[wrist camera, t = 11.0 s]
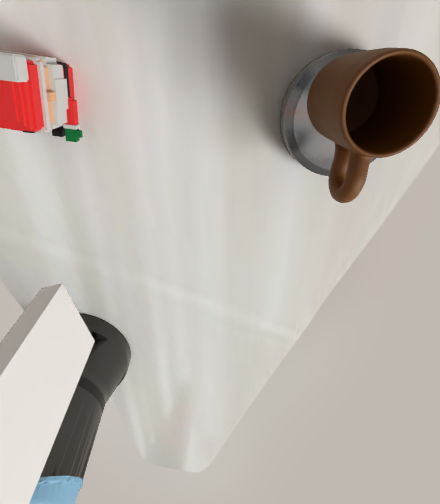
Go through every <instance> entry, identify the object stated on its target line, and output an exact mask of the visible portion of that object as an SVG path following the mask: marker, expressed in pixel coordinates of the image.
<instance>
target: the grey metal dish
mask: <svg viewBox="0 0 440 504" xmlns="http://www.w3.org/2000/svg"><path fill="white" fill-rule="evenodd" d="M361 51H367V50H360V49H348V50H343V51H337V52H332V53H329V54H326V55H323V56H321V57H319V58H317V59H315V60H314V61H312V62H311V63H309V64H308V65H307V66H306V67H305V68H303V69H302V70H301V72H300V73H299V74H298V75H297V76H296V77H295V79H294V80H293V81H292V83H291V85H290V86H289V88H288V90H287V92H286V95H285V97H284V100H283V103H282V107H281V113H280V128H281V134H282V138H283V141H284V143H285V145H286V147H287V149H288V151H289V152H290V153H291V155H292V156H293V157H294V158H295V159H296V160H297V161H298V162H299V163H300V164H301V165H303V166H304V167H305V168H307V169H308V170H310V171H312V172H314V173H317V174H320V175H325V176H329V174H330V169H331V165H332V162H333V159H334V154H335V143H334V142H333V141H331V140H330V139H328V138H326V137H324V136H323V135H321V134H320V133H319V132H318V131H317V130H316V129H315V128H314V127H313V125H312V123H311V121H310V119H309V116H308V112H307V97H308V92H309V89H310V86H311V84H312V82H313V80H314V78H315V77H316V75H317V74H318V73H319V71H320V70H321V69H322V68H323V67H324V66H325V65H326V64H328V63H329V62H330V61H332V60H333V59H335V58H337V57H339V56H342V55H345V54H350V53H356V52H361ZM375 159H376V158H372V157H371V159H370V163H371V162H372V161H374V160H375ZM370 163H369V164H370Z"/></svg>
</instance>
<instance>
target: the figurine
mask: <svg viewBox="0 0 440 504" xmlns="http://www.w3.org/2000/svg"><path fill="white" fill-rule="evenodd" d="M0 128H7V129H11V130H19V131H23V132H28V133H35V132H42V133H46V132H49V131H52V135H53V136H60V137H63V136H65V135H66V141H72V142H77V141H79V138H81V137H82V131H81V130H79V128H80V124H78V113H77V100H74V86H73V73H72V68H69V65H67V64H66V63H60V62H57V61H56V58H52V57H45V56H39V55H33V54H26V53H20V52H13V51H5V50H0Z"/></svg>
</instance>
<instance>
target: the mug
mask: <svg viewBox="0 0 440 504" xmlns="http://www.w3.org/2000/svg"><path fill="white" fill-rule="evenodd" d="M439 104H440V76H439V73H438V70H437V68H436V67H435V65H434V63H433V62H432V61H431V60H430V59H429V58H428V57H427V56H426V55H424V54H423V53H421V52H419V51H416V50H413V49H408V48H382V49H375V50H368V51H361V52H356V53H350V54H345V55H342V56H339V57H337V58H335V59H333V60H332V61H330V62H329V63H328V64H326V65H325V66H324V67H323V68H322V69H321V70H320V71H319V73H318V74H317V75H316V77H315V78H314V80H313V82H312V84H311V86H310V89H309V92H308V97H307V112H308V116H309V119H310V121H311V123H312V125H313V127H314V128H315V129H316V130H317V131H318V132H319V133H320V134H321V135H323V136H324V137H326V138H328V139H330V140H331V141H333V142H334V143H335V154H334V159H333V162H332V165H331V169H330V174H329V190H330V193H331V195H332V197H333V198H334V199H335V200H336V201H338V202H340V203H346V202H350V201H352V200H353V199H355V198H356V197H357V196H358V194H359V193H360V191H361V190H362V188H363V186H364V184H365V181H366V177H367V172H368V167H369V163H370V159H371V157H372V158H383V157H388V156H392V155H395V154H398V153H400V152H402V151H404V150H406V149H407V148H409V147H410V146H412V145H413V144H414V143H415V142H417V141H418V140H419V139H420V138H421V137H422V136H423V135H424V133H425V132H426V131H427V130H428V128H429V127H430V125H431V124H432V122H433V120H434V118H435V116H436V113H437V111H438V108H439Z"/></svg>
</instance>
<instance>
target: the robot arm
mask: <svg viewBox="0 0 440 504" xmlns="http://www.w3.org/2000/svg"><path fill="white" fill-rule="evenodd" d="M130 358H131V352H130V347H129V344H128V342H127V340H126V339H125V337H124V336H123V335H122V334H121V332H120V331H118V330H117V329H116V328H115V327H114V326H112V325H111V324H109V323H107V322H105V321H103V320H101V319H99V318H96V317H93V316H89V315H84V314H79V312H78V310H77V309H76V307H75V305H74V303H73V301H72V300H71V298H70V296H69V294H68V293H67V291H66V289H65V287H64V286H63V284H58V285H54V286H50V287H45V288H42V289H41V290H40V291H39V292H38V294H37V295H36V296H35V298H34V299H33V300H32V302H31V303H30V304H29V306H28V307H27V308H26V310H25V311H24V312H23V314H22V315H21V316H20V318H19V319H18V320H17V322H16V323H15V324H14V326H13V327H12V328H11V330H10V331H9V332H8V334H7V335H6V336H5V338H4V339H3V340H2V342H1V343H0V504H75V501H76V498H77V496H78V493H79V491H80V489H81V487H82V485H83V477H84V474H85V470H86V467H87V463H88V460H89V456H90V453H91V450H92V446H93V443H94V440H95V436H96V433H97V430H98V426H99V423H100V420H101V416H102V413H103V410H104V406H105V404H106V402H107V401H108V399H109V398H110V396H111V395H112V393H113V392H114V390H115V389H116V387H117V386H118V385H119V384H120V383H121V382H122V380H123V379H124V377H125V375H126V373H127V370H128V366H129V362H130Z"/></svg>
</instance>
